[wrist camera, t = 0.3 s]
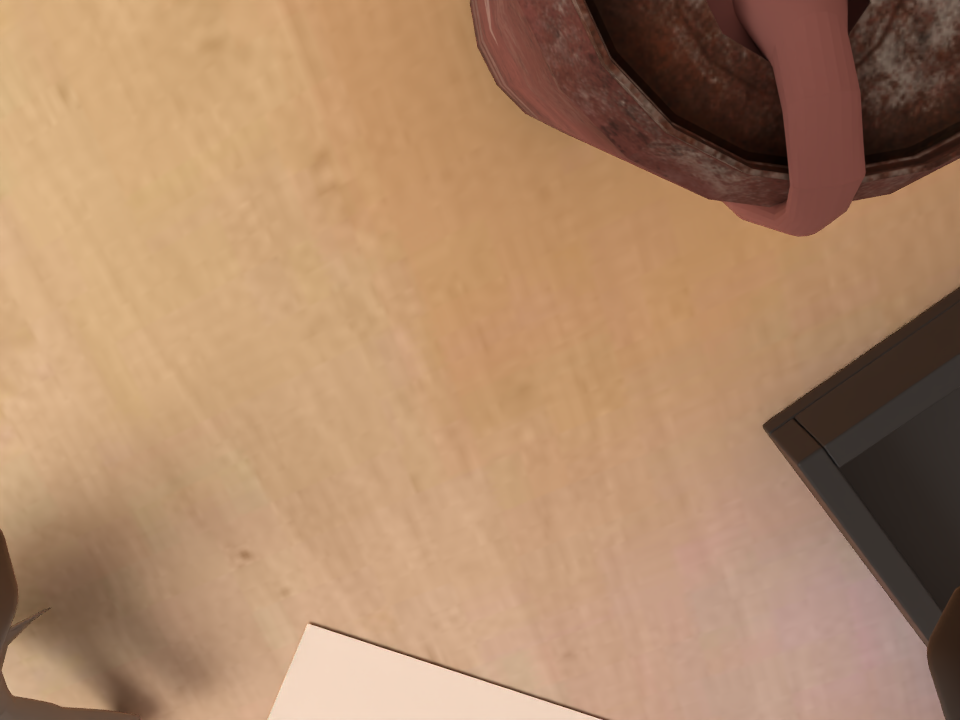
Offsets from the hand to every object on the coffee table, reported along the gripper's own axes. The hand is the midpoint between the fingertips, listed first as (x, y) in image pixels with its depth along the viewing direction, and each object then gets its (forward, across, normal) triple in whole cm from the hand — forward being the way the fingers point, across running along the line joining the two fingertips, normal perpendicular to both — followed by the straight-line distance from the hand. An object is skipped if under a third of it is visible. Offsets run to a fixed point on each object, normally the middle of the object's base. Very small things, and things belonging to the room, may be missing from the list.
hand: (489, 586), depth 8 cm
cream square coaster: (+11, 0, +22) cm, 24 cm away
